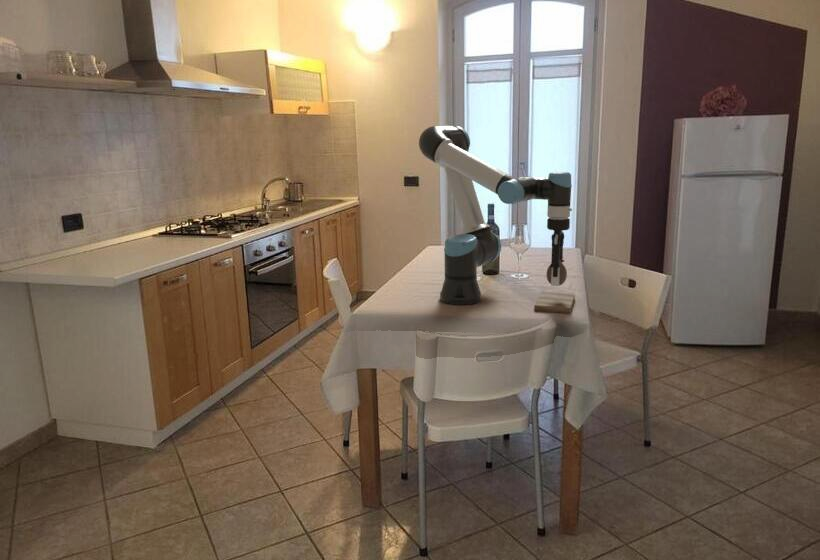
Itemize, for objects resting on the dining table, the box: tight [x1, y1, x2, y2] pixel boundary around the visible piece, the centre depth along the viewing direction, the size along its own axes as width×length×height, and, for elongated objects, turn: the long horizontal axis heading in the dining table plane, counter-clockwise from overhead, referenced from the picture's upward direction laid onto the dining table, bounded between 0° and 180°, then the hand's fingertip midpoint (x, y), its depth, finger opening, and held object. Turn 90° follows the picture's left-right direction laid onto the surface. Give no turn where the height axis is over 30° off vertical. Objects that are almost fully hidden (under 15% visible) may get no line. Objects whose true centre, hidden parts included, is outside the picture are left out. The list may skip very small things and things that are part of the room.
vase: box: [546, 260, 568, 286], centre depth 215 cm, size 7×7×9 cm
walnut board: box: [533, 291, 576, 314], centre depth 218 cm, size 18×12×2 cm, turn 161°
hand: (556, 282), depth 216 cm, fingers closed on vase, 7 cm apart
